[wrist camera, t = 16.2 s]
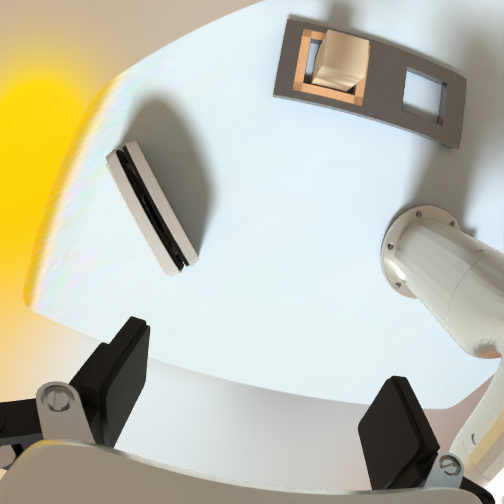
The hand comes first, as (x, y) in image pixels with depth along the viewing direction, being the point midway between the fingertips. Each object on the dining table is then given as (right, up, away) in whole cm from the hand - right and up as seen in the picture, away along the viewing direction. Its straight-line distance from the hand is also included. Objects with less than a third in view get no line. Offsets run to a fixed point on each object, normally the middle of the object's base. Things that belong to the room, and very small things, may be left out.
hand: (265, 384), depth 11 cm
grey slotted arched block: (-12, +11, +27) cm, 32 cm away
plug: (+9, +26, +21) cm, 34 cm away
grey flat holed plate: (+15, +25, +21) cm, 36 cm away
